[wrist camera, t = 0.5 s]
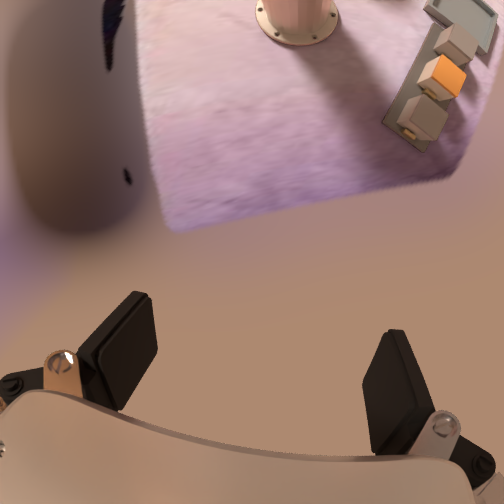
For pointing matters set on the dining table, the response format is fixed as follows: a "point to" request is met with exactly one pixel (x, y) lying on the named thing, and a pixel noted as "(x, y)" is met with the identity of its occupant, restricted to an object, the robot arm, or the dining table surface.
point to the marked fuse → (442, 78)
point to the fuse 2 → (456, 44)
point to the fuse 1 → (423, 118)
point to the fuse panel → (416, 89)
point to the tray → (466, 18)
